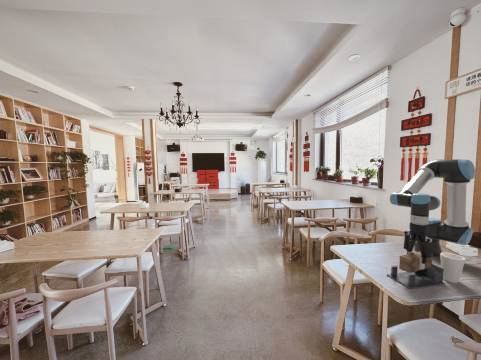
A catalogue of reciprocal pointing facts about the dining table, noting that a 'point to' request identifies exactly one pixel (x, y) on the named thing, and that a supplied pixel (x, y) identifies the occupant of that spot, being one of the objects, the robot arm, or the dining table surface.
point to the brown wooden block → (413, 262)
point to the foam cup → (452, 266)
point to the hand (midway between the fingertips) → (415, 266)
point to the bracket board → (419, 277)
